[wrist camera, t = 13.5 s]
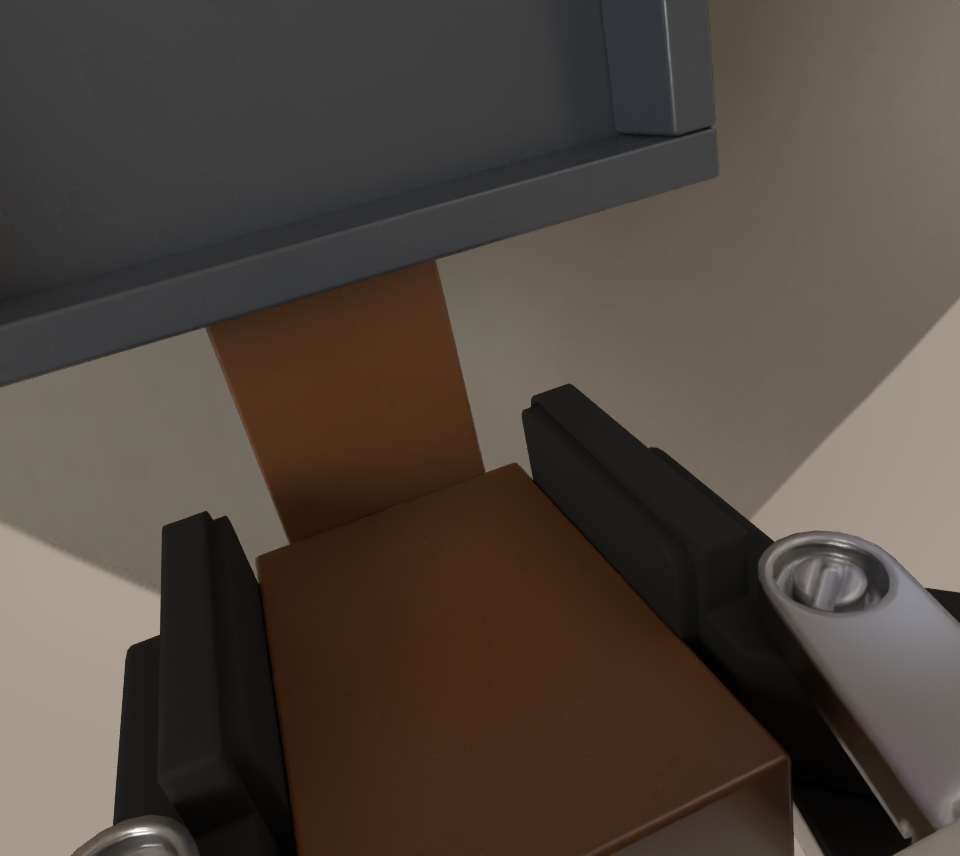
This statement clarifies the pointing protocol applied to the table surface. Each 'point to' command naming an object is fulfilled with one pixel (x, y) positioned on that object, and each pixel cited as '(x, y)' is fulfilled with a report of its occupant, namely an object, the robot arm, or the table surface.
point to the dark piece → (388, 385)
